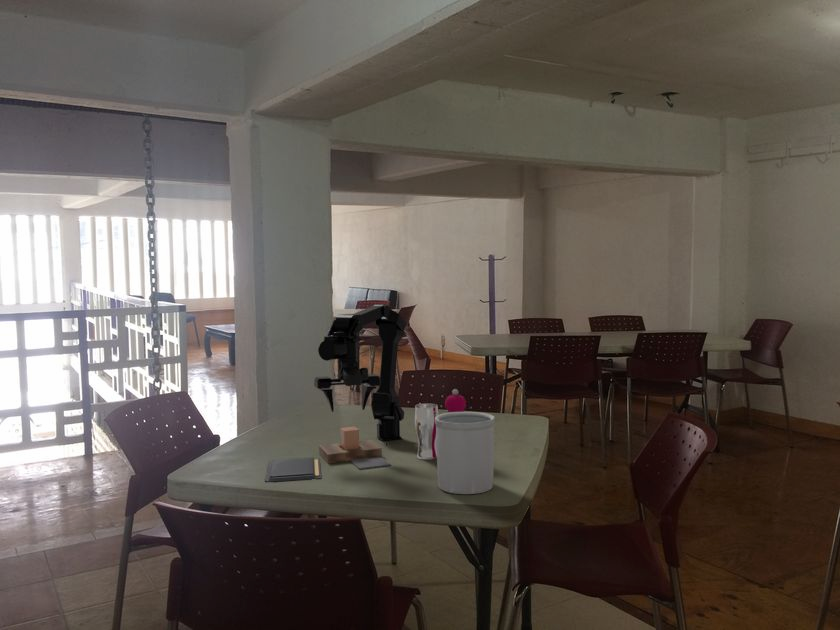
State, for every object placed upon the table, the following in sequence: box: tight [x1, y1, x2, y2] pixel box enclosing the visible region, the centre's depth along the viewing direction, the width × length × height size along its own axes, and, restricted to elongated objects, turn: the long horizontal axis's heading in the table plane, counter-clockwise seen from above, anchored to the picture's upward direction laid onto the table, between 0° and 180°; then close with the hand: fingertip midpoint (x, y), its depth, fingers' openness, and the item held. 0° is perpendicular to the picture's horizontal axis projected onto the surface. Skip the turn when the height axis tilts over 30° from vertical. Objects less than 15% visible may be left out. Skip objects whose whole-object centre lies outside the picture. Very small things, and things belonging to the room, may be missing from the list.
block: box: [339, 426, 360, 450], centre depth 204 cm, size 4×4×8 cm
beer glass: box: [413, 403, 439, 461], centre depth 201 cm, size 7×7×15 cm
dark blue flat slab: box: [264, 457, 323, 483], centre depth 191 cm, size 20×2×15 cm
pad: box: [350, 456, 391, 470], centre depth 196 cm, size 9×9×1 cm
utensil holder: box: [435, 411, 496, 495], centre depth 173 cm, size 15×15×18 cm
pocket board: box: [318, 439, 383, 464], centre depth 204 cm, size 16×11×3 cm
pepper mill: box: [444, 388, 467, 413], centre depth 198 cm, size 7×7×20 cm
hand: (347, 410), depth 204 cm, fingers open, 9 cm apart
